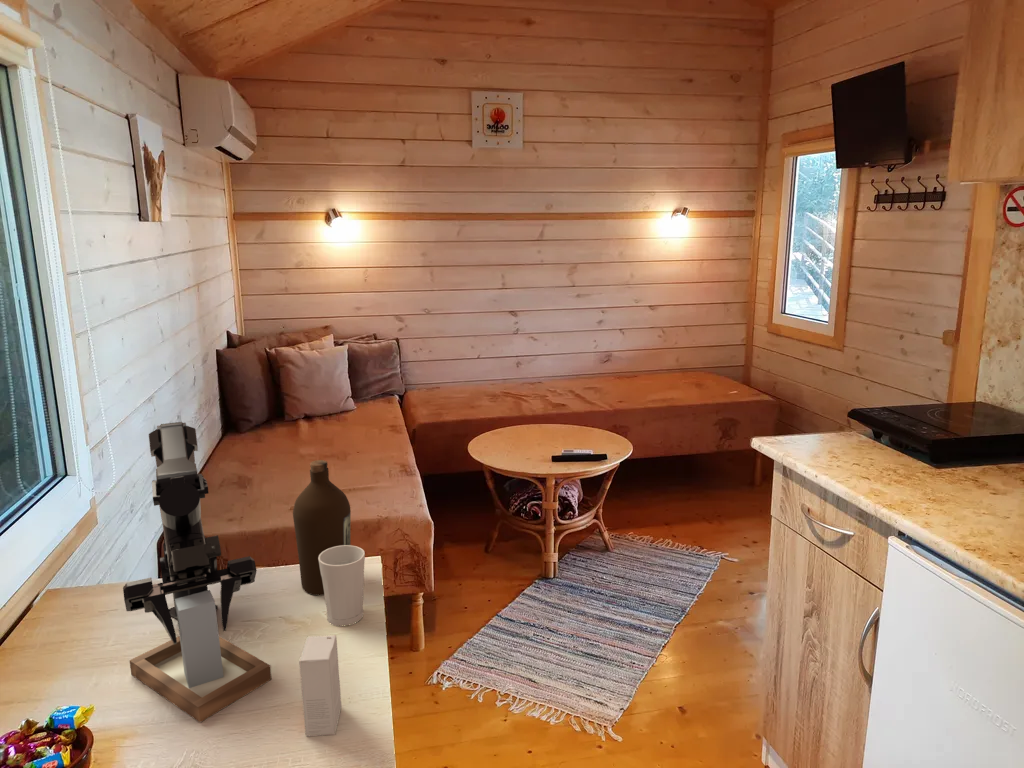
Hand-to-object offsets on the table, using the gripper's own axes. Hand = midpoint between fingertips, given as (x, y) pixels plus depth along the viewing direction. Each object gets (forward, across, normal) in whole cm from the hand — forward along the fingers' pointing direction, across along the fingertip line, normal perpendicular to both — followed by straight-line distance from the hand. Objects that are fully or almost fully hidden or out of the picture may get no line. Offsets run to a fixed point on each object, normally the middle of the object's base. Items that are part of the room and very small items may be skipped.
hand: (200, 636), depth 109 cm
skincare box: (+18, +14, -6) cm, 24 cm away
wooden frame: (+4, 0, +7) cm, 9 cm away
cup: (0, +24, +12) cm, 27 cm away
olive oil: (-9, +25, +21) cm, 34 cm away
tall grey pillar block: (+4, 0, +6) cm, 8 cm away
